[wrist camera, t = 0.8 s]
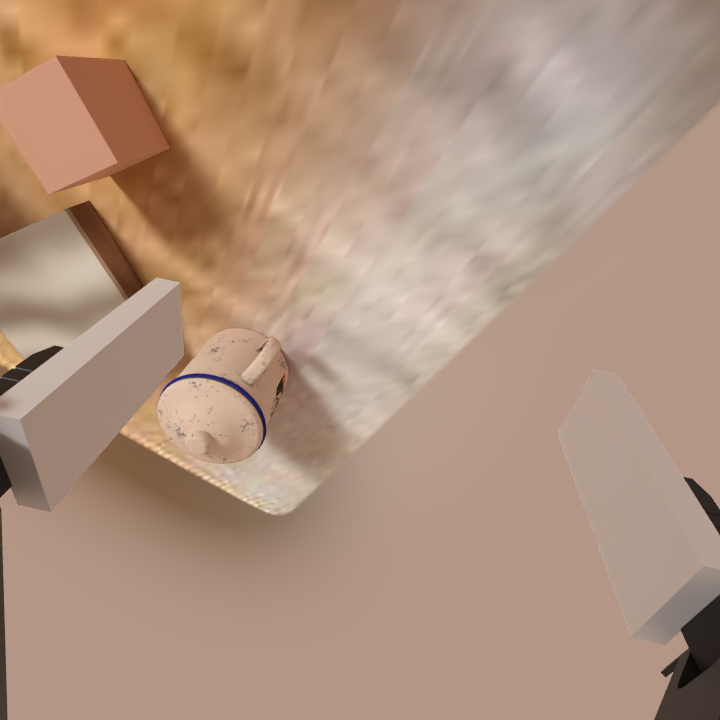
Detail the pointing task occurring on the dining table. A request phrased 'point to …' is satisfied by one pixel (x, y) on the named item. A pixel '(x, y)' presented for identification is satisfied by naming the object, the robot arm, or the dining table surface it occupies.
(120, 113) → the block
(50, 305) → the plinth
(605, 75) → the dining table surface
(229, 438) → the teacup with lid
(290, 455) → the dining table surface
